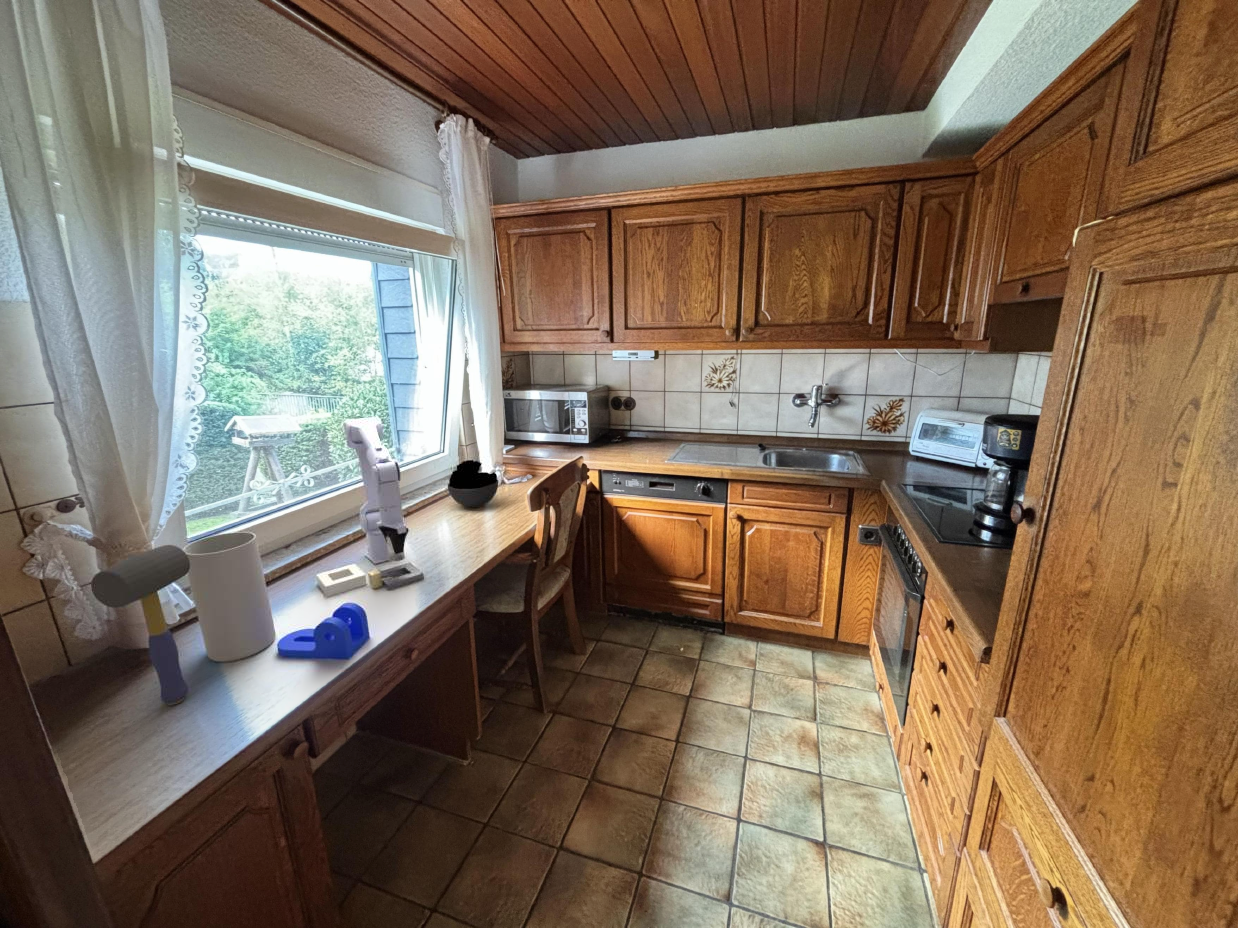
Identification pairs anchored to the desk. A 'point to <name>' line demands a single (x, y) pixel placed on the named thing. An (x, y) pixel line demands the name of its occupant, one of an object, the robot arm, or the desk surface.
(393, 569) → the socket block
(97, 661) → the desk surface
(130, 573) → the rubber mallet
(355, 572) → the white square block
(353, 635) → the bracket
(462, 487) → the bowl of black rocks
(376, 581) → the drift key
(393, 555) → the metal cylinder
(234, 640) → the cylinder vase
